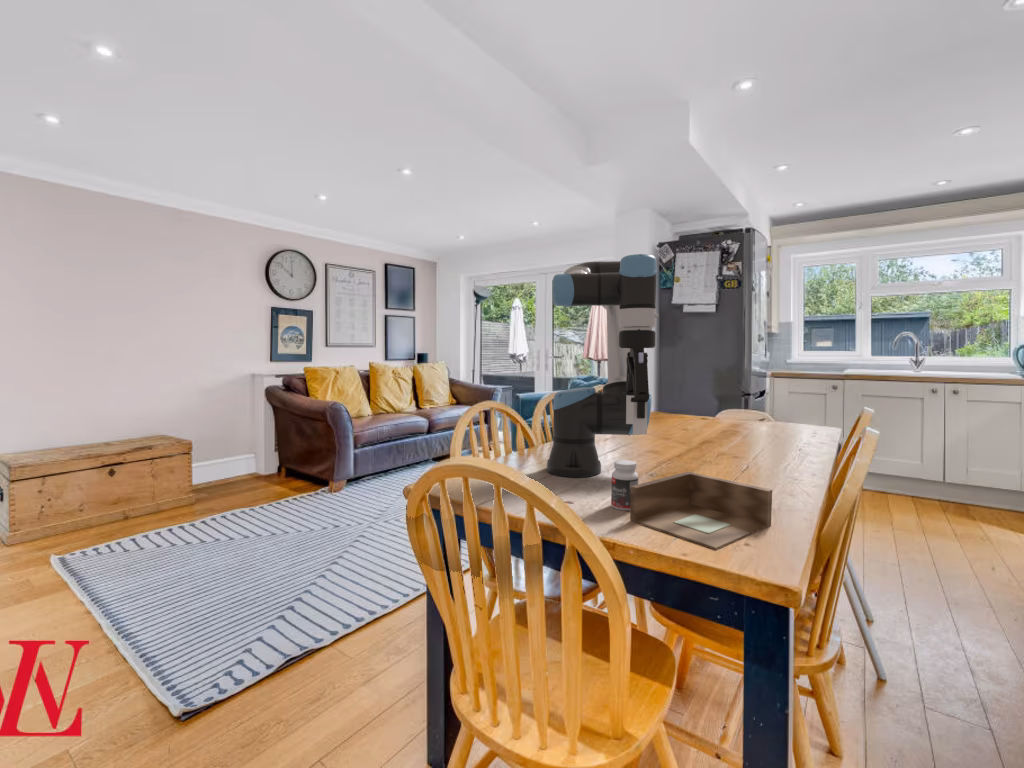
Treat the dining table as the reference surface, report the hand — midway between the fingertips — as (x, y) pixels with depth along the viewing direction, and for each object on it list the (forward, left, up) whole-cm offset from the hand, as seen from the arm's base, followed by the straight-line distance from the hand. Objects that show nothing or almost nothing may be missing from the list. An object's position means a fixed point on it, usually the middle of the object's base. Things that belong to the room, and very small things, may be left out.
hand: (635, 428), depth 109 cm
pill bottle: (-1, -2, -17) cm, 17 cm away
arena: (+15, +2, -17) cm, 22 cm away
